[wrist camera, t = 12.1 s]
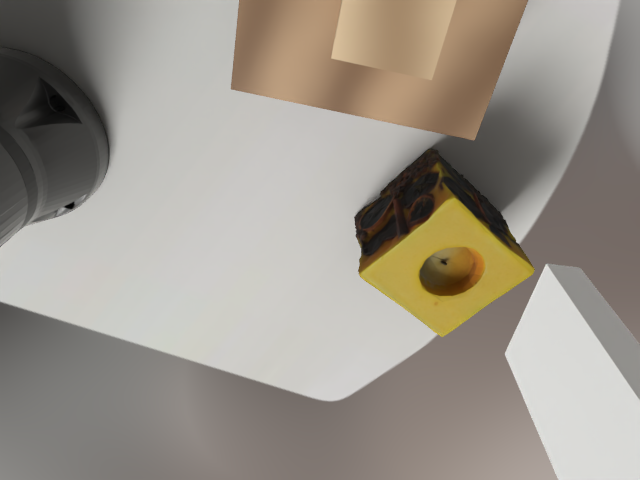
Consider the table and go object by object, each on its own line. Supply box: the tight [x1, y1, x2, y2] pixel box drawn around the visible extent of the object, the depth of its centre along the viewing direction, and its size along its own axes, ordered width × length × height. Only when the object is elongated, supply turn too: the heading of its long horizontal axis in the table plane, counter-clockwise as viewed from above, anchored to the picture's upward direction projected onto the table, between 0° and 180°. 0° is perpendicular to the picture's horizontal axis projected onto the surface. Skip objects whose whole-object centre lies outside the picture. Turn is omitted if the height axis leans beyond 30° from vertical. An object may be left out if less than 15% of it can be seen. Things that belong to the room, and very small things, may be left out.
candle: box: [354, 149, 535, 337], centre depth 41 cm, size 10×10×10 cm
